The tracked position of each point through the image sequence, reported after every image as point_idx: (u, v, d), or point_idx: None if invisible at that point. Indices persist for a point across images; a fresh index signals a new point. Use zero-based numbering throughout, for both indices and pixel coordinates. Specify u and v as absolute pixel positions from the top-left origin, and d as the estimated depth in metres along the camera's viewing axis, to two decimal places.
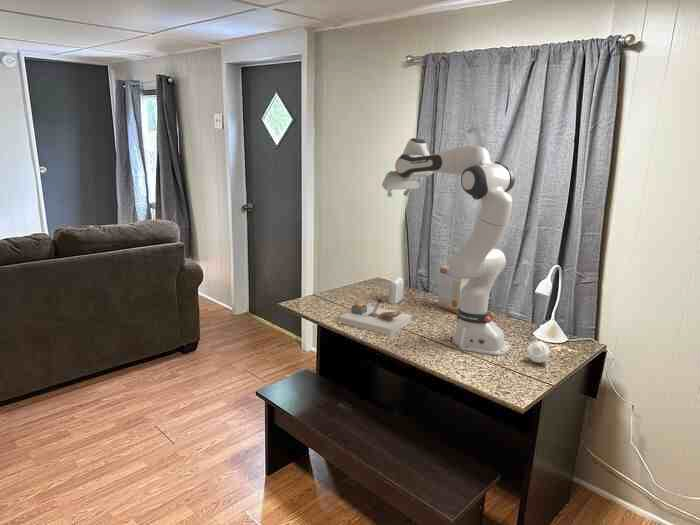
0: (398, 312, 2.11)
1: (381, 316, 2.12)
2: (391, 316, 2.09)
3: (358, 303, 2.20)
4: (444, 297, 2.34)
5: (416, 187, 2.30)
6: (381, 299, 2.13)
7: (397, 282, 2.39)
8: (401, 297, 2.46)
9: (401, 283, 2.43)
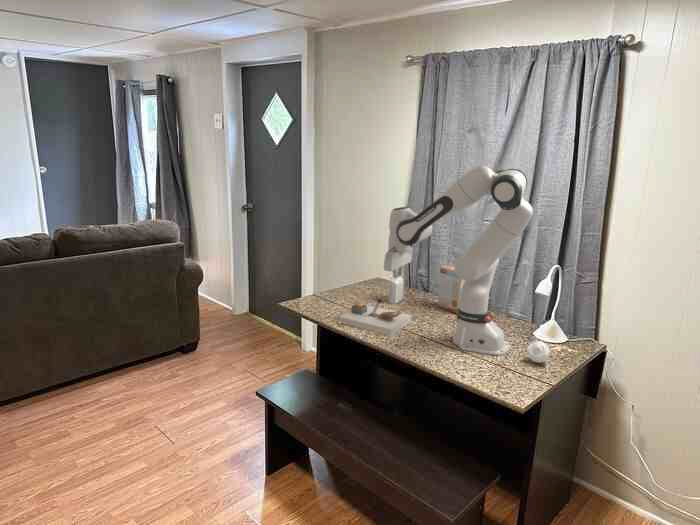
0: (398, 312, 2.11)
1: (381, 316, 2.12)
2: (391, 316, 2.09)
3: (358, 303, 2.20)
4: (444, 297, 2.34)
5: (409, 261, 2.11)
6: (381, 299, 2.13)
7: (397, 282, 2.39)
8: (401, 297, 2.46)
9: (401, 283, 2.43)
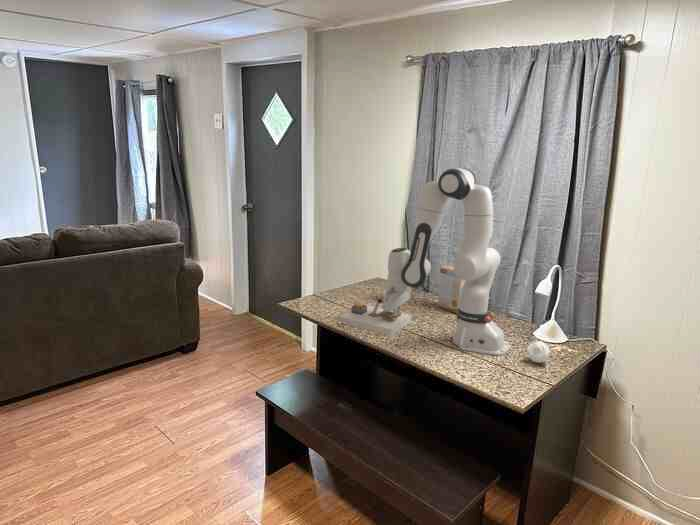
0: None
1: (381, 315, 2.12)
2: (391, 317, 2.09)
3: (358, 303, 2.20)
4: (444, 297, 2.34)
5: (408, 298, 2.15)
6: (381, 299, 2.13)
7: None
8: None
9: None
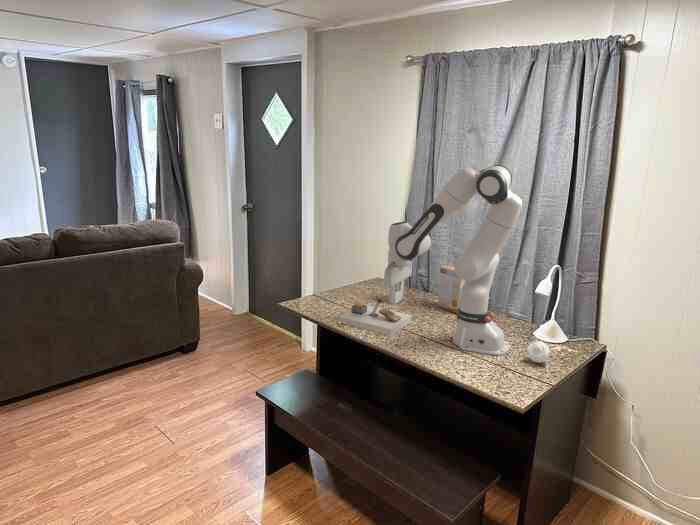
0: (399, 317, 2.11)
1: (382, 313, 2.11)
2: (391, 319, 2.09)
3: (358, 303, 2.20)
4: (444, 297, 2.34)
5: (409, 274, 2.12)
6: (381, 299, 2.13)
7: None
8: (401, 297, 2.46)
9: None
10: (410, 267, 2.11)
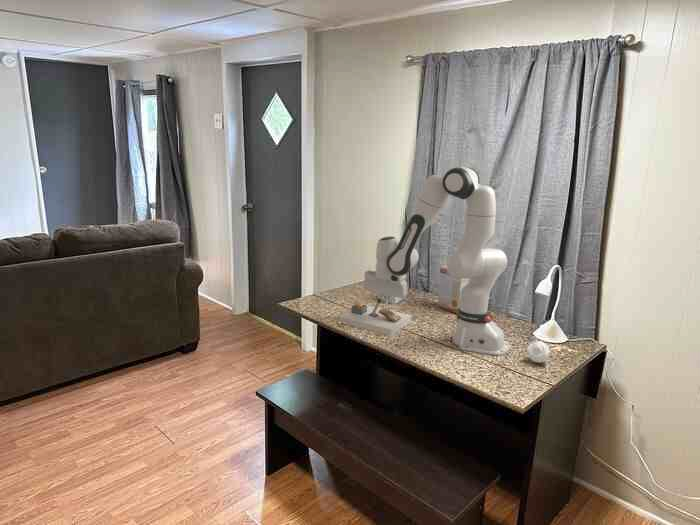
0: (399, 317, 2.11)
1: (382, 313, 2.11)
2: (391, 319, 2.09)
3: (358, 303, 2.20)
4: (444, 297, 2.34)
5: (399, 296, 2.06)
6: None
7: None
8: None
9: None
10: (399, 288, 2.04)
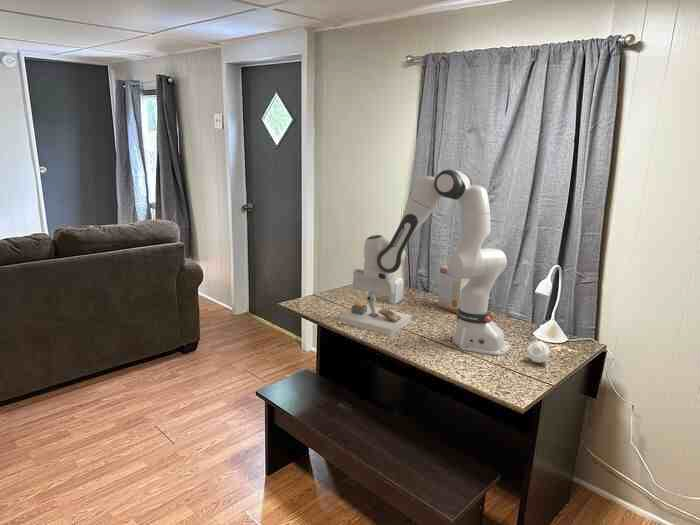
0: (399, 317, 2.11)
1: (382, 313, 2.11)
2: (391, 319, 2.09)
3: (358, 303, 2.20)
4: (444, 297, 2.34)
5: (387, 293, 2.09)
6: None
7: (397, 282, 2.39)
8: (401, 297, 2.46)
9: (401, 283, 2.43)
10: (387, 286, 2.08)
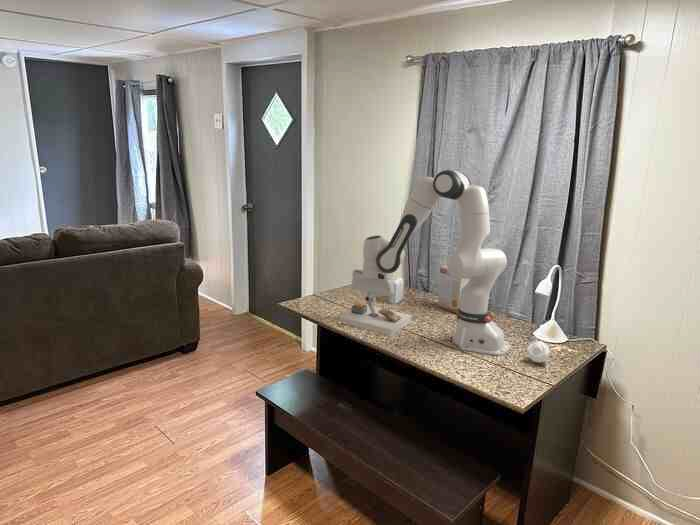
0: (399, 317, 2.11)
1: (382, 313, 2.11)
2: (391, 319, 2.09)
3: (358, 303, 2.20)
4: (444, 297, 2.34)
5: (386, 293, 2.09)
6: (367, 296, 2.17)
7: (397, 282, 2.39)
8: (401, 297, 2.46)
9: (401, 283, 2.43)
10: (386, 286, 2.08)
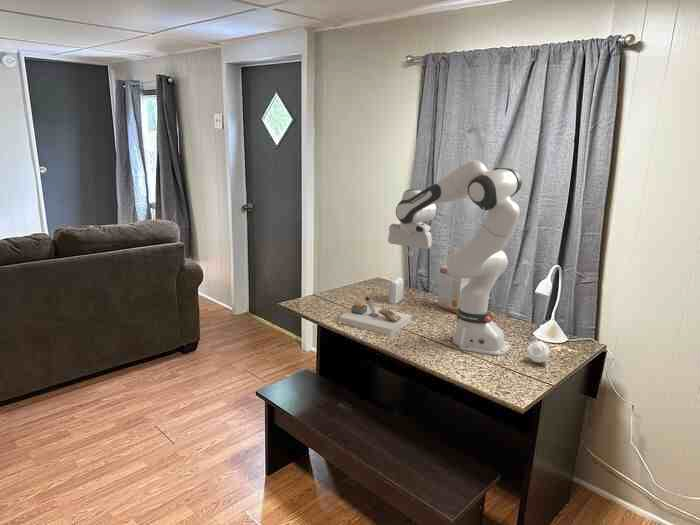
0: (399, 317, 2.11)
1: (382, 313, 2.11)
2: (391, 319, 2.09)
3: (358, 303, 2.20)
4: (444, 297, 2.34)
5: (424, 246, 2.11)
6: (367, 296, 2.17)
7: (397, 282, 2.39)
8: (401, 297, 2.46)
9: (401, 283, 2.43)
10: (424, 239, 2.10)
